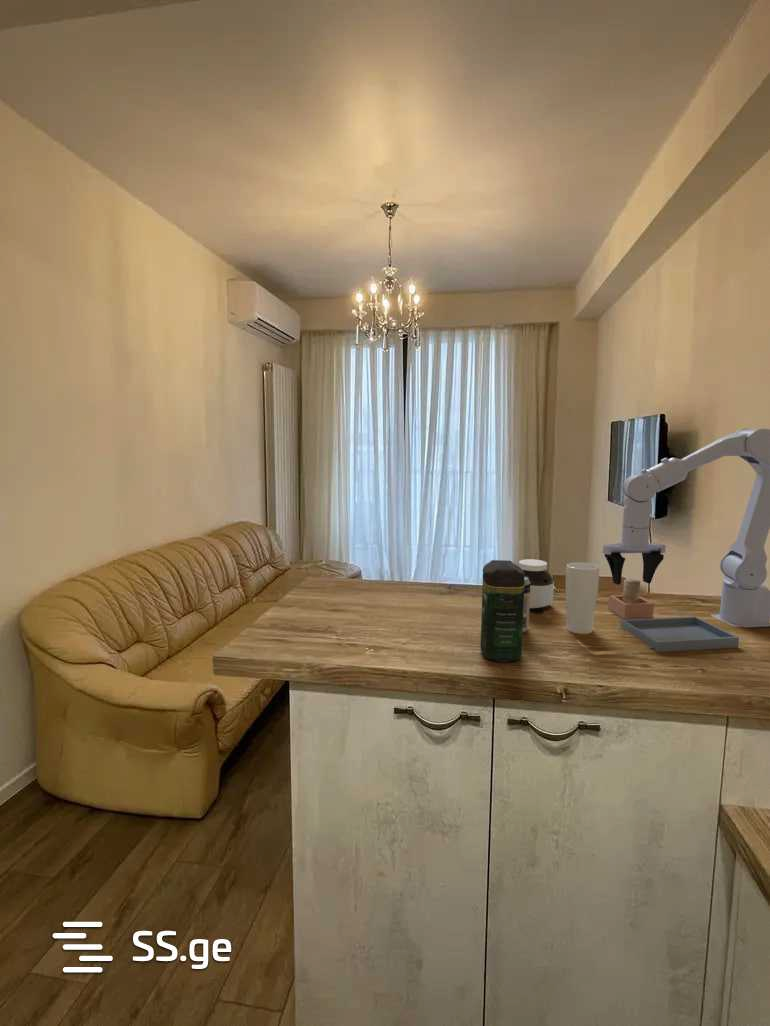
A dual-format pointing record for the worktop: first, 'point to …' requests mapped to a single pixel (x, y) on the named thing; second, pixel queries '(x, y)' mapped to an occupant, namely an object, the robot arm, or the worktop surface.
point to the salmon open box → (631, 608)
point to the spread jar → (538, 584)
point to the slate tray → (680, 634)
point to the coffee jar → (502, 611)
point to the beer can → (526, 605)
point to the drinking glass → (581, 596)
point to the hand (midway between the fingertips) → (631, 582)
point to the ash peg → (631, 591)
